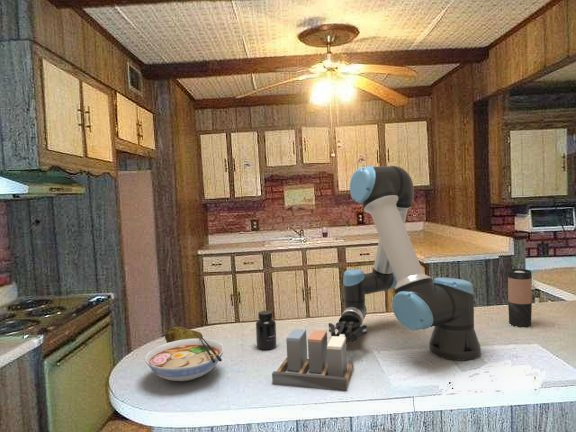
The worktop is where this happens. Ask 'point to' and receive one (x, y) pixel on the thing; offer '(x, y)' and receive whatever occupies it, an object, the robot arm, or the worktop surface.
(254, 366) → the worktop surface
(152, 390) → the worktop surface
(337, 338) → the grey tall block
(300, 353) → the slate key
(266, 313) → the supplement bottle
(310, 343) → the terracotta key
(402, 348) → the worktop surface
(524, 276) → the travel mug
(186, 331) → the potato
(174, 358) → the ramen bowl
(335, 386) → the key bed
